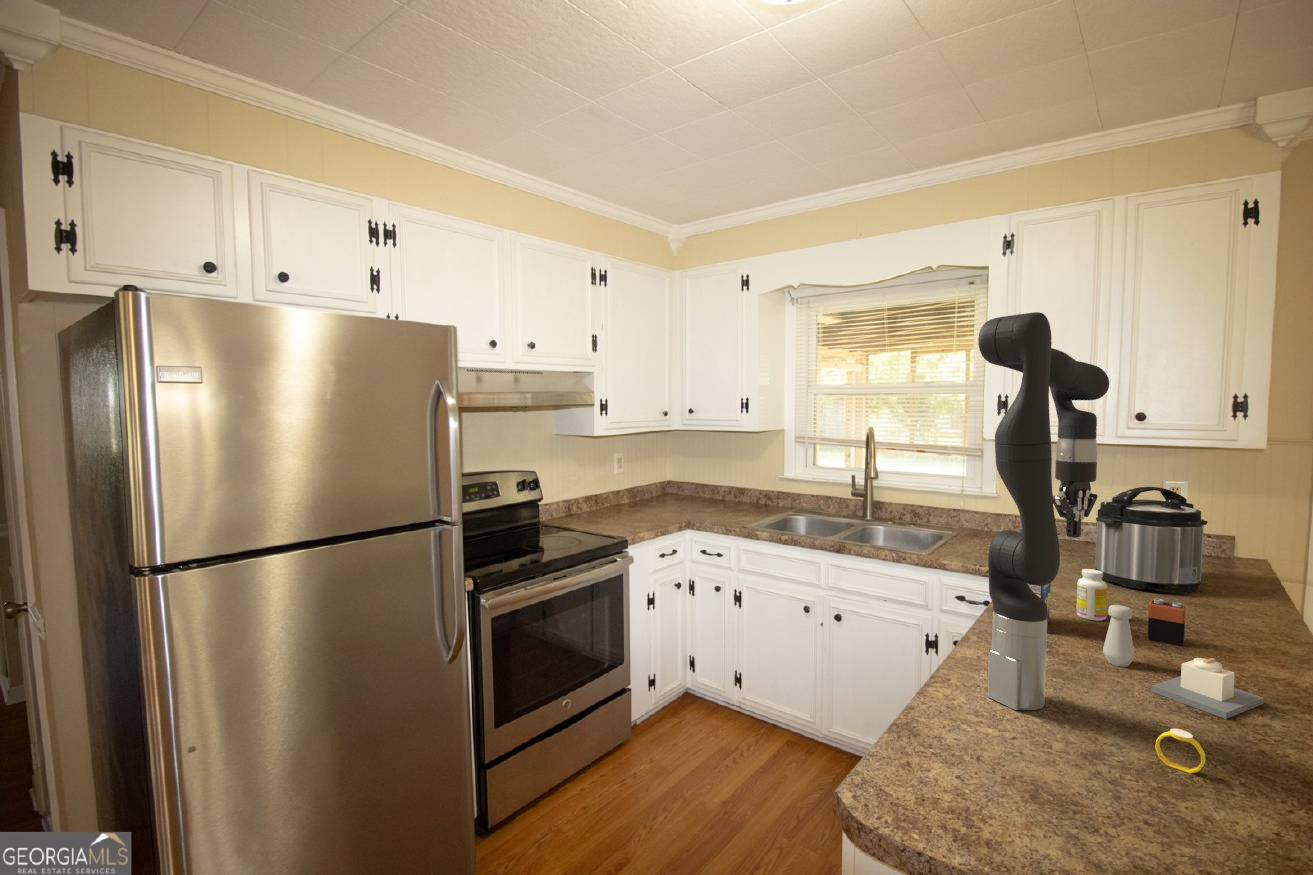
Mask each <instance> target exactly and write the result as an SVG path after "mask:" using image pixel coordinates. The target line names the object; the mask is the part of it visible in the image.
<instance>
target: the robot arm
mask: <svg viewBox="0 0 1313 875" xmlns="http://www.w3.org/2000/svg"><path fill="white" fill-rule="evenodd" d="M977 341H978V348H979V352H980V354H981V356H982V358H983V359H984V360H985V361H986V362H988V364H989V363H990V364H991V365H995V366H998V367H1004V368H1007V369H1010V370H1013V371H1016V372H1020V373H1022V377H1021V383H1020V387H1019V390H1018V392H1017V394H1016V397H1014V398H1015V399H1014V400H1013V402H1012V404H1011V405H1010V406H1009V408H1008V409H1007V411H1006V412H1005V414H1004V416H1002V419H1001V421H1000V422H999V423H998V426H997V427H996V431H995V433H994V453H995V467H996V470H997V473H998V475H999V476H1000V477H999V478H1000V479H1001V481H1002V483H1003V485H1004V486H1005V489H1007V491H1008V493H1009V494H1010V496H1011V498H1012V499H1013V501H1014V503H1015V505H1016V507H1017V510H1018V513H1019V517H1020V522H1021V523H1020V524H1021V529H1022V532H1018V531H1019V530H1010V529H1006V530H1005V529H1003V530H1001V531H999V532H998V533H996V534H995V535H994V536H993V538H992V540H991V542H990V544H989V550H988V554H987V556H988V558H987V567H988V568H987V569H988V594H989V597H990V600H991V602H992V623H991V624H992V628H991V629H992V632H991V649H990V650H988V662H987V663H988V664H987V666H988V669H987V671H988V674H987V698H990V699H992V700H994V701H996V702H998V703H1000V704H1002V705H1004V706H1006V707H1008V708H1009V709H1012V710H1014V711H1019V710H1024V711H1037V710H1041V709H1043V708H1044V707H1045V700H1046V670H1047V669H1046V667H1047V666H1046V664H1047V638H1048V637H1047V634H1048V623H1047V613H1048V608H1047V605H1046V603H1045V602H1044V601H1043V600H1042V599H1041V598H1040V597H1039V596H1037V595H1036V594H1035V593H1034V592H1033V591H1032V590H1031V589H1030V587H1029V586H1028V584H1027V583H1030V584H1034V585H1040V586H1044V585H1048V584H1050V583H1052V582H1054V581H1055V579H1056V577H1057V575H1058V573H1059V568H1060V565H1061V564H1060V563H1061V562H1060V561H1061V551H1060V550H1061V549H1060V543H1059V536H1058V530H1057V523H1056V516H1055V515H1056V514H1055V510H1056V512H1057V514H1058V515H1059V517H1060V518H1064V520H1066V528H1065V530H1066V531H1065V532H1066V533H1065V534H1066V535H1065V536H1066V537H1068V538H1074V539H1075V538H1080V537H1081V535H1082V534H1081V533H1082V522H1083V521H1084V519H1085V518H1088V517H1089V516H1090V514H1091V512H1092V510H1093V508H1094V506H1095V504H1096V503H1097V500H1098V498H1099V495H1098V494H1096V493H1092V491H1091V490H1092V486H1091V483H1092V482H1093V483H1094V482H1095V481H1097V473H1098V472H1097V468H1098V444H1097V428H1098V418H1097V415H1096V414H1095V413H1094V412H1091V411H1085V410H1080V409H1078V408H1076V406H1075V405H1074V403H1073V401H1094V400H1095V401H1096V400H1098V399H1101V398H1103V397H1104V396H1105V395H1106V394H1107V393H1108V391H1109V388H1110V379H1109V376H1108V374H1107V373H1106V372H1105V371H1104V370H1103V369H1102V368H1101V367H1099V366H1097V365H1094V364H1091V363H1087V362H1083V361H1079V360H1076V359H1075V358H1074V357H1072V356H1071V355H1069V354H1067V353H1066V352H1065V351H1062V350H1059V349H1056V348H1052V329H1051V325H1050V322H1049V319H1048V317H1047V316H1046V315H1045V314H1044V313H1043V312H1040V311H1039V312H1038V311H1037V312H1027V313H1020V314H1019V313H1018V314H1013V315H1005V316H999V317H995V318H991V319H989V320H987V321H986V322H984V324H982V326H981V327H980V330H979V333H978V338H977ZM1050 393H1051V394H1050ZM1050 395H1051V396H1052V399H1053V400H1052V401H1053V403H1054V407H1055V411H1056V416H1057V421H1058V422H1057V441H1056V447H1055V470H1054V471H1055V472H1054V475H1055V476H1054V478H1055V479H1056V480H1059V481H1060V485H1059V487H1058V491H1059V493H1058V494H1057V495H1053V494H1054V493H1053V480H1052V478H1053V477H1052V464H1053V463H1052V461H1053V460H1052V459H1053V458H1052V455H1053V454H1052V436H1051V433H1052V432H1051V419H1050ZM1054 507H1055V509H1054Z"/></svg>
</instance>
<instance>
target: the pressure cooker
mask: <svg viewBox="0 0 1313 875" xmlns="http://www.w3.org/2000/svg"><path fill="white" fill-rule="evenodd" d="M1151 491H1157V492H1159V493H1160V494H1161V496H1162V497H1163V499H1164V500H1157V499H1136V498H1137V497H1138V496H1139V495H1140V494H1142V493H1147V492H1151ZM1187 500H1188V499H1187V498H1186V497H1184V496H1183V495H1181V494H1179V493H1178V492H1175V491H1173V490H1171V489H1167V488H1164V487H1158V486H1141V487H1134V488H1130V489H1127V490H1125V491H1122V492H1120V493H1118V494H1116V495H1114V496H1113V497H1111V500H1107V501H1101V502H1100V506H1099V509H1097V514H1096V515H1097V516H1096V517H1095V521H1096V527H1095V528H1096V536H1095V538H1096V540H1095V565H1094V566H1095V570H1098V571H1101V572H1103V577H1102V580H1105V582H1111V583H1115V584H1118V585H1121V586H1124V587H1128V588H1132V589H1136V590H1146V589H1148V590H1153V591H1157V592H1163V593H1171V594H1172V593H1173V594H1187V593H1192V592H1195V591H1196V590H1197V589H1198V588H1199V587H1200V586H1201V582H1202V572H1203V571H1202V570H1203V569H1202V568H1203V549H1204V548H1203V547H1204V546H1203V545H1204V532H1205V531H1204V529H1205V526H1206V525H1207V524H1208V523H1209V521H1207V520H1204V519H1202V510H1200V509H1198V508H1197V509H1196V508H1194V503H1190V502H1188V501H1187Z"/></svg>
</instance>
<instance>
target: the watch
mask: <svg viewBox="0 0 1313 875" xmlns="http://www.w3.org/2000/svg"><path fill="white" fill-rule="evenodd" d="M1167 737H1172V738H1174V739H1176V740H1178V741H1182V742H1187V743H1189V744H1191V745H1192V746H1194V747H1195V749H1196V750H1197V752H1198V754H1199V755H1200V763H1199V765H1197V766H1194V767H1191V768H1190V767H1188V766H1184V765H1182V764H1178V763H1176V762H1172V761H1170V760H1169V759H1168V758H1167V757H1166V756H1165V755H1164V753H1163V751H1162V748H1161V746H1160V744H1161V741H1162V740H1163V739H1164V738H1167ZM1154 748H1155V752H1156V754H1157V756H1158V758H1159V760H1160V761H1162V763H1163V764H1165V766H1166V767H1169V768H1173V769H1175V770H1178V771H1181V772H1184V773H1187V774H1190V775H1191V774H1194V773H1195V774H1196V773H1199V772H1200V771H1201V770H1202V768H1203V767H1204V765H1205V763H1206V753H1205V751H1204V749H1203V747H1202V745H1201V744H1200V743H1199V742H1198V741H1197V740H1195V739H1194V738H1193V734H1192V733H1190V732H1188V731H1186V730H1184V729H1180V728H1170V730H1169V731H1164V732H1163V733H1161V734H1160V735H1159V736H1158V737H1157V738H1156V741H1155V746H1154Z"/></svg>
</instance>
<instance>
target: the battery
mask: <svg viewBox="0 0 1313 875" xmlns="http://www.w3.org/2000/svg"><path fill="white" fill-rule="evenodd" d="M1186 608H1187V607H1186V605H1183V604H1182V603H1181V602H1176V601H1173V602H1172V603H1171V602H1165V599H1162V598H1155V597H1154V598H1153V600H1150V601H1149V603H1148V621H1147V639H1148V640H1149V641H1153V642H1154V641H1155V642H1158V643H1164V644H1168V645H1175V646H1180V647H1183V646H1184V644H1185V628H1186Z"/></svg>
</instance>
